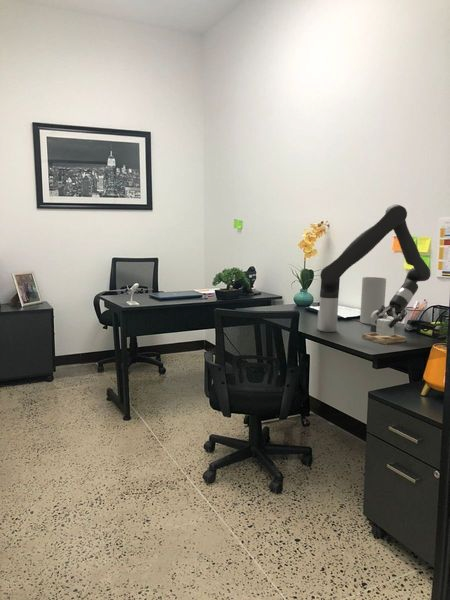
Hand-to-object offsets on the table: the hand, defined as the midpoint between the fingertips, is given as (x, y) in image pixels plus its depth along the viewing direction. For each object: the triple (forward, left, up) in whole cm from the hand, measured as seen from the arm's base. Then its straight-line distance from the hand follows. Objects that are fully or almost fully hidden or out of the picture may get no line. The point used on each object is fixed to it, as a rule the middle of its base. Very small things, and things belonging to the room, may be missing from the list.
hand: (383, 325), depth 226 cm
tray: (0, +1, -7) cm, 7 cm away
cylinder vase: (-32, +27, -7) cm, 43 cm away
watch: (-14, +12, -7) cm, 20 cm away
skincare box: (0, +1, -5) cm, 5 cm away
